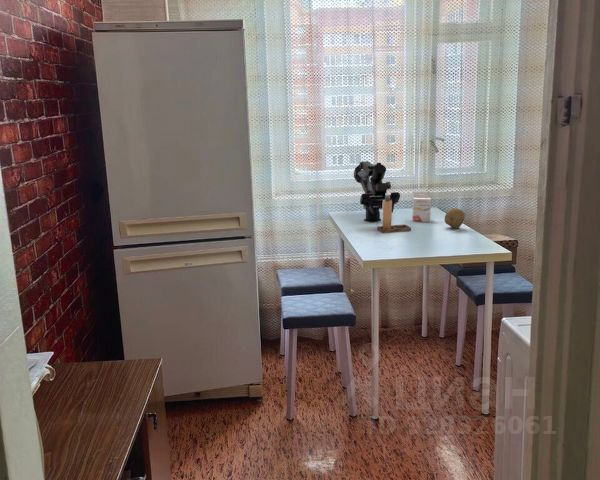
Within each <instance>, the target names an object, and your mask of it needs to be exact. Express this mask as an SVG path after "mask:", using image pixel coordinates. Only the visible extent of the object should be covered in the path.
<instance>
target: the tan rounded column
mask: <svg viewBox="0 0 600 480" xmlns="http://www.w3.org/2000/svg"><path fill="white" fill-rule="evenodd" d="M392 214H393V213H392V201H391V200H390V196H387V195H385V200H383V204H382V226H383V229H391V226H392V219H393V218H392Z"/></svg>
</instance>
